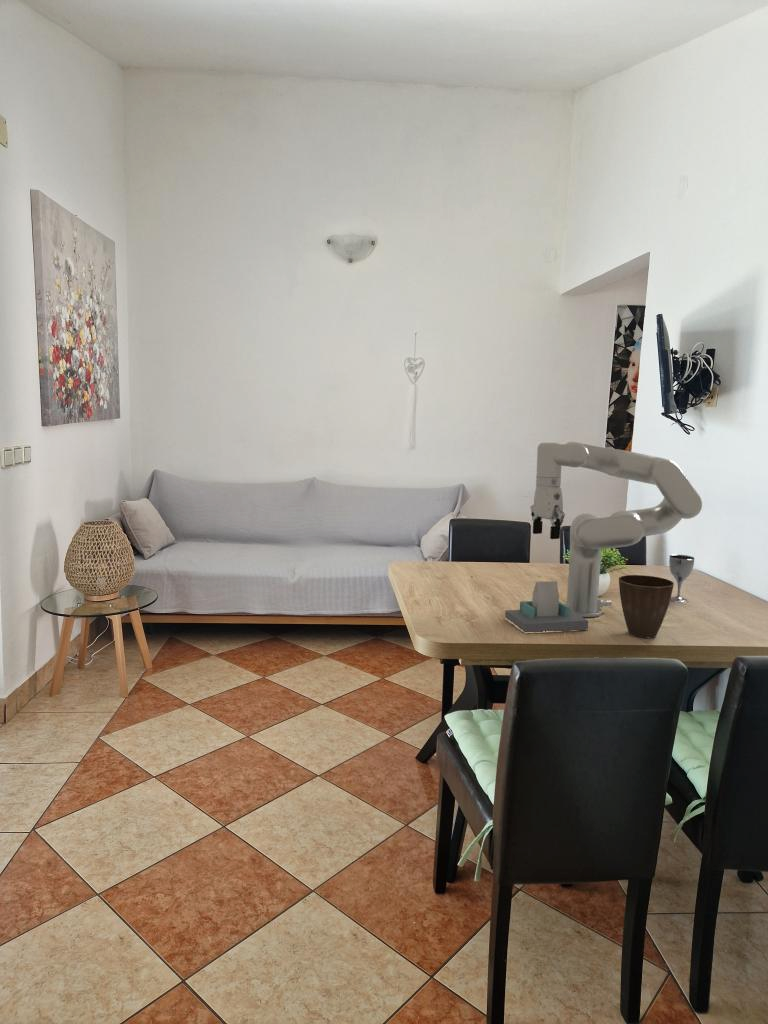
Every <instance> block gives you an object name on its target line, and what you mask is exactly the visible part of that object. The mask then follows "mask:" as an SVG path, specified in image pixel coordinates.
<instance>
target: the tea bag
mask: <svg viewBox="0 0 768 1024" xmlns="http://www.w3.org/2000/svg"><path fill="white" fill-rule="evenodd" d="M559 600H560V593H559V587H558V581H557V580H555V581H554V580H553V581H535V585H534V589H533V592H532V599H531V601H532V607H533V608H535V616H537V617H538V616H558V606H559V602H560V601H559Z"/></svg>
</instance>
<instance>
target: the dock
mask: <svg viewBox="0 0 768 1024" xmlns="http://www.w3.org/2000/svg"><path fill="white" fill-rule="evenodd" d="M565 604H566V603H565ZM565 604H564V603H562V602H560V601H559V606H558V616H538V617H537V616H535V608H533V607H532V600H526V601H525V600H524V601H519V609H506V610H505V615H504V618H505V617H506V618H507V619H508V620H510V621H511V622H513V623H514V624H515V625H517V626H518V627H519V628H520V629H522V630H523V631H524V632H543V631H545V632H546V631H570V632H572V631H571V630H586V629H589V619H586V617H581V616H579V615H578V614H576V613H574V612H572V611H571V610H569V607H568V606H566V605H565Z"/></svg>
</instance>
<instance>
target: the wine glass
mask: <svg viewBox="0 0 768 1024" xmlns="http://www.w3.org/2000/svg"><path fill="white" fill-rule="evenodd" d="M668 559H669V560H668V567H669V572H670V574H671V575H672V576H673V578H674V579H675V581H676V583H677V595H675V596H671V599H670V601H671V600H672V602H675V601H680V602H679V603H685V602H684V601H687V599H688V598H686V597H683V596H681V588H682V584H683V582H685V580H686V579H687V578H688V577H689V576H690V575H691V574H692V572H693V569H694V565H695V557H694V556H692V555H691V556H690V555H685V554H670V555H669V558H668Z"/></svg>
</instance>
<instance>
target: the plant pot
mask: <svg viewBox="0 0 768 1024" xmlns="http://www.w3.org/2000/svg"><path fill="white" fill-rule="evenodd" d="M674 583H675V582H673V580H669V579H668V578H665V577H664V578H663V577H659V576H653V575H652V576H651V575H645V574H643V575H641V574H629V575H622V576H619V578H618V585H619V586H618V587H619V597H620V602H621V603H620V604H621V608H622V613H623V617H624V622H625V625H626V627H627V628H626V629H627V631H628V633H630V634H629V635H631V634H632V635H634V636H633V637H635V636H637V637H636V638H640V637H653V638H655V637H654V636H656V637H657V634H658V633H659V631H660V630H661V627H662V624H663V623H664V620H665V617H666V614H667V611H668V608H669V605H670V602H671V600H670V599H671V597H672V594H673V590H674V585H675V584H674ZM632 635H631V636H632Z"/></svg>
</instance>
